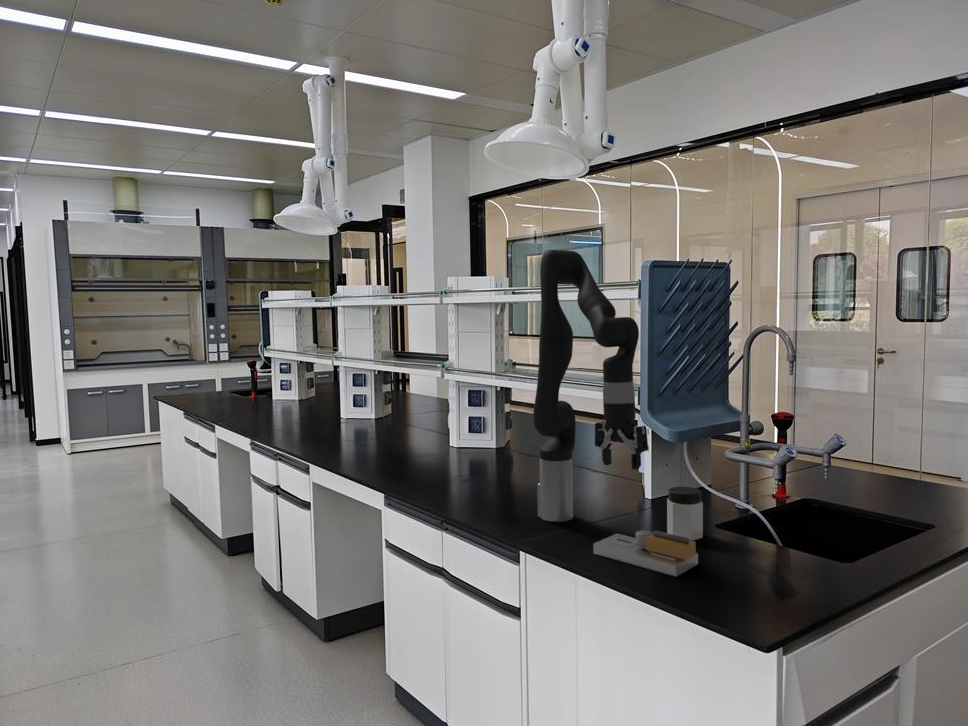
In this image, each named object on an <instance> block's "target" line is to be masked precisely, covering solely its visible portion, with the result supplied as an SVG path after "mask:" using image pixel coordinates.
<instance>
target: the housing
mask: <svg viewBox="0 0 968 726" xmlns="http://www.w3.org/2000/svg"><path fill="white" fill-rule="evenodd" d="M593 554H594V555H598V556H600V557H604V558H607V559H612V560H615V561H618V562H623V563H625V564H629V565H632V566H636V567H640V568H643V569H647V570H651V571H654V572H657V573H661V574H664V575H669V576H672V577H675V578H676V577H678V576H679V575H682V574H683V573H686V572H687V571H689V570H691V569H692V568H694V567H695V566H697V565H698V564H699V553H698V552H696V555H695V556H693V557H691V558H689V559H688V560H685V559H681V558H678V557H674V556H670V555H666V554H662V553H658V552H654V551H650V550H647V549H645V548H639V547H637V546H636V537H632V536H628V535H625V534H620V533H615V534H613V535H610V536H608V537H605V538H602V539H601V540H599V541H597V542H594V543H593Z"/></svg>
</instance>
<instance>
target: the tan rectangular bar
mask: <svg viewBox="0 0 968 726" xmlns="http://www.w3.org/2000/svg"><path fill="white" fill-rule="evenodd" d="M635 538H636V546H637V547H639V548H645V549H647V550H650V551H654V552H658V553H662V554H666V555H670V556H674V557H678V558H681V559H685V560H688V559H689V558H691V557H693V556H695V555H696V553H697V551H696V550H697V549H696V547H697V546H696V544H697V543H696V541H690V539H689V538H685V537H681V536H677V535H673V534H668V533H667V532H663V531H660V530H659V531H658V530H654V531H650V530H645V529H643V530H637V531H635Z"/></svg>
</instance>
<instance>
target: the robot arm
mask: <svg viewBox="0 0 968 726" xmlns="http://www.w3.org/2000/svg"><path fill="white" fill-rule="evenodd" d="M540 260H541V261H540V269H539V270H540V271H539V275H540V280H539V281H540V283H539V284H540V299H541V300H540V303H541V304H540V305H541V306H540V308H541V309H540V328H539V329H540V331H539V345H538V346H539V347H538V350H539V351H538V355H539V356H538V369H537V371H538V372H537V383H536V392H535V398H534V405H533V414H532V416H533V417H532V419H533V426H534V428H535V430H536V432H537V433H538V434H539V435H540V436H543V437H547V440H546V441H545V443H543V445H542V446H540V448H539V457H538V458H539V483H537V486H536V487H537V492H536V493H537V494H536V495H537V517H539V518H540V519H542V520H544V521H546V522H553V523H554V522H555V523H560V522H562V523H563V522H568V521H571V520H573V519H574V497H573V496H574V492H573V491H574V490H573V487H574V486H573V485H574V484H573V451H574V449H575V444H576V413H575V410H574V408H573V406H572V405H571V404H570V402H567V401H564V400H559V399H560V398H559V397H560V396H559V394H560V388H561V384H562V381H563V379H564V376H565V375H566V372H567V370H568V367H569V366H570V364H571V361H572V357H573V349H574V347H573V346H574V332H573V329H572V326H571V323H570V321H569V320H568V318H567V316H566V315H565V313H564V311H563V308H562V307H561V304H560V300H559V289H558V287H559V285H573V286H575V287H576V288H577V289H578V292H577V293H578V294H577V297H576V298H577V305H578V308H579V309H580V311H581V313H582V314H583V316H585V318H586V319H587V321H588V322H589V325H590V327H591V330H592V334H593V338H594V340H595V342H596V343H597V344H598V345H599V346H601V347H603V348H617V347H618V349H617V351H616V354H615V355H612V356H609V357H607V358H605V359H604V360H603V363H602V372H603V376H602V377H603V387H602V401H603V403H602V404H603V405H602V406H603V419H604V420H605V421H600V422H596V423H595V424H594V445H595V447H598V448H600V449H601V457H602V458H601V460H602V463H603V465H604V466H610V465H612V448H611V447H612V446H613V444H614V443H620V444H624V445H625V446H626V447H627V448H628V449H629V450H630V452H631V454H630V456H631V459H630V461H631V470H633V471H634V470H635V471H636V470H639V469H640V467H642V458H641V457H642V456H641V455H642V453H644V452H647V451H648V450H649V440H648V432H647V426H646V425H640V426H636V424H635V420H636V416H637V415H636V393H635V391H636V390H635V385H634V371H633V370H634V369H633V364H634V360H635V355H636V349H637V346H638V342H639V337H640V331H639V327H638V326H639V325H638V323H637V322H636V321H635V319H633V318H632V317H629V316H623V317H622V316H621V317H619V316H618V317H616V314H617V312H616V309H615V306H614V305H613V303H612V302H611V301H610V300H609V299H608V297H607V296H606V295H605V294H604V293H603V292H602V291H601V289H600V288H599V287H598V285H597V283H596V281H595V279H594V276H593V275H592V272H591V271H590V269H589V267H588V264H587V263H586V261H585V259H584V257H583V256H582V255H581V254H580V253H579V252H578V251H574V250H563V249H562V250H561V249H547V250H546V251H544V252H543V254H542V257H541V259H540Z"/></svg>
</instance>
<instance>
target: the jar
mask: <svg viewBox="0 0 968 726" xmlns="http://www.w3.org/2000/svg"><path fill="white" fill-rule="evenodd" d="M667 492H668V498H666V508H667V510H666V533H668V534H673V535H677V536H681V537H685V538H689V539H690V541H693V542H695V541H697V540H700V539H703V538H704V537H703V535H704V534H703V533H704V526H703V525H704V520H703V519H704V516H703V515H704V510H703V509H704V503H703V501H702V490H700V489H699V488H696V487H692V486H673V487H670V488H669V489H668V491H667Z"/></svg>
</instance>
